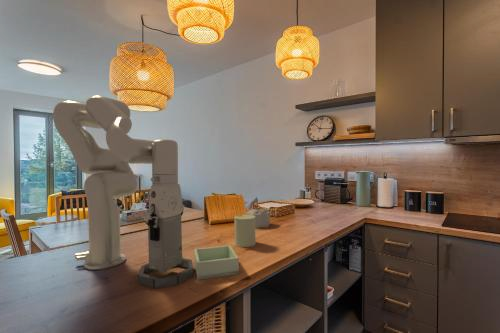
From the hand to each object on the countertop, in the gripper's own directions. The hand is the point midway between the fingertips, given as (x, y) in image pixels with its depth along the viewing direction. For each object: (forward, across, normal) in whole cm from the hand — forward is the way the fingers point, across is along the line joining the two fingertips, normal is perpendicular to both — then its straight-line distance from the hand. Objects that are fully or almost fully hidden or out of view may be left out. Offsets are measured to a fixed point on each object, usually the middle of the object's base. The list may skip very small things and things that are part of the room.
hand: (165, 236), depth 76 cm
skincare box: (+9, 0, 0) cm, 9 cm away
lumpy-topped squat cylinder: (+12, +68, -4) cm, 69 cm away
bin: (+12, +10, -12) cm, 19 cm away
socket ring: (+12, 0, 0) cm, 12 cm away
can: (+12, +36, -10) cm, 40 cm away
